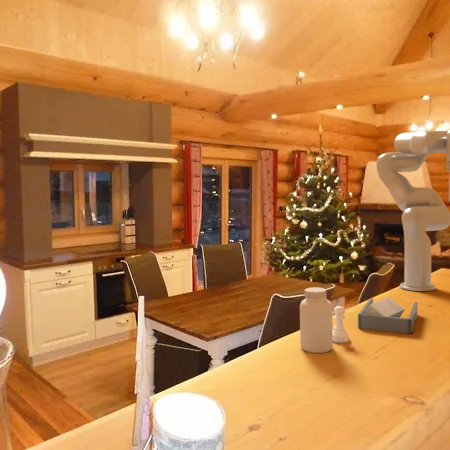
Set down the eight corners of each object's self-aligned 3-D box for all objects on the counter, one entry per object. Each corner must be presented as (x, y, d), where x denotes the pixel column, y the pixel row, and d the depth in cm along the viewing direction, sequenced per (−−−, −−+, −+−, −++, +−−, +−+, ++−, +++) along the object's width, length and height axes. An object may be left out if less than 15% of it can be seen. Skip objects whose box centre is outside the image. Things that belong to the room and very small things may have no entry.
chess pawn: (326, 338, 121) (325, 305, 121) (342, 335, 123) (342, 303, 122) (336, 344, 117) (336, 309, 116) (353, 341, 118) (353, 307, 117)
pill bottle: (297, 351, 112) (296, 292, 111) (304, 341, 119) (303, 285, 118) (329, 355, 109) (329, 294, 108) (334, 344, 116) (334, 286, 115)
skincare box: (383, 307, 140) (361, 315, 132) (389, 295, 138) (368, 303, 130) (399, 320, 136) (378, 330, 128) (406, 308, 134) (386, 318, 126)
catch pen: (370, 310, 147) (370, 298, 146) (417, 314, 140) (417, 302, 140) (358, 328, 129) (358, 314, 129) (411, 334, 122) (411, 319, 122)
